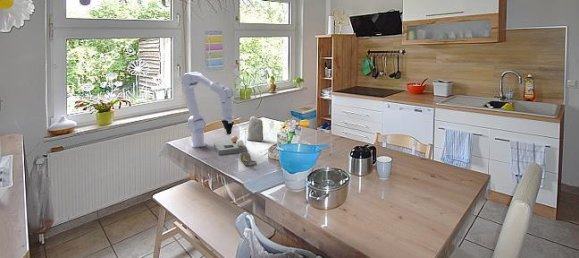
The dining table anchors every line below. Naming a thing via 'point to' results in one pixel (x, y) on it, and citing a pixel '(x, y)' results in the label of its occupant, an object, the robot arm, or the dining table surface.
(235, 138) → the terracotta ball
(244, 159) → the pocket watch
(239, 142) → the cream ball
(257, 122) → the decorative stone
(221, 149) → the hole plate
